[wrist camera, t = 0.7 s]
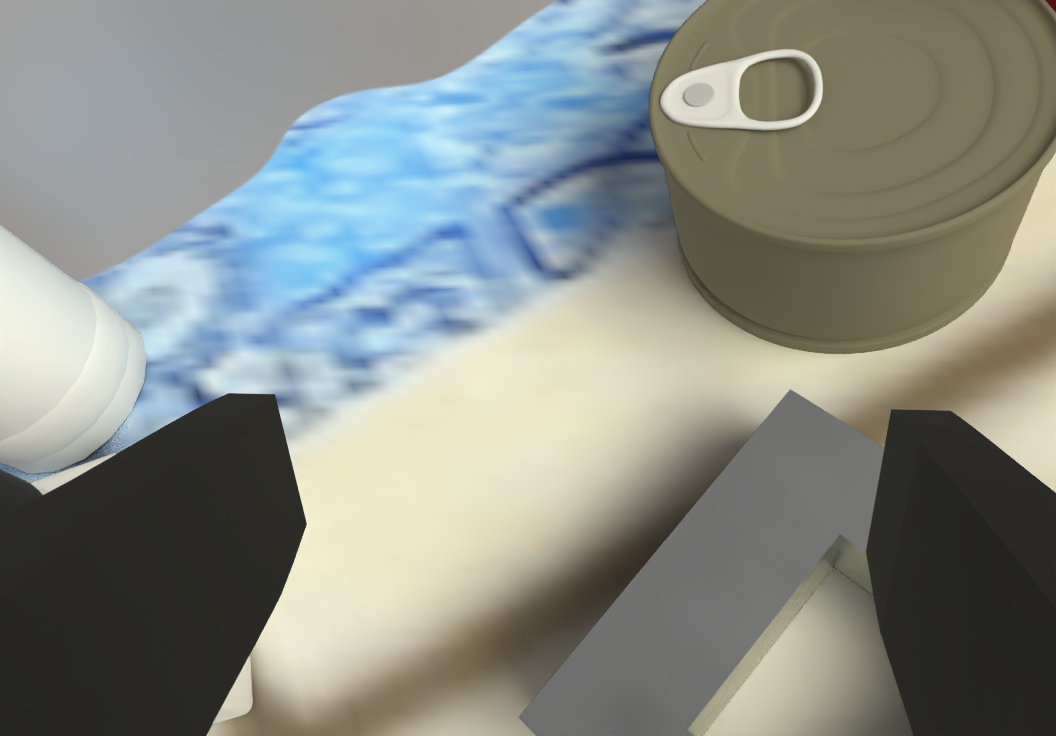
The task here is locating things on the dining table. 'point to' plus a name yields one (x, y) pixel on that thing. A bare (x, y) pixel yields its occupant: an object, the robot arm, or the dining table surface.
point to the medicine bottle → (12, 492)
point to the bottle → (59, 364)
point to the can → (853, 159)
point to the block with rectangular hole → (722, 583)
